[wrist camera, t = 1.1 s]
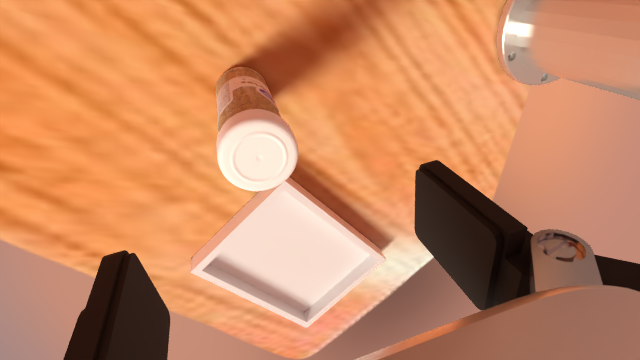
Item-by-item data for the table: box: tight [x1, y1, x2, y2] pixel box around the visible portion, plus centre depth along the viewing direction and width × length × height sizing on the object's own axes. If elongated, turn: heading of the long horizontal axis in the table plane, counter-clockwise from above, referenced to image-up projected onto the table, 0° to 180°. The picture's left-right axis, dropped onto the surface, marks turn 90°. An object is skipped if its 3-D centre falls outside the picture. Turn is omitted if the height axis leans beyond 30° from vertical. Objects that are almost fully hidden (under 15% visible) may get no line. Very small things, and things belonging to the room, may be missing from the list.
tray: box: [190, 177, 386, 328], centre depth 40 cm, size 18×14×2 cm
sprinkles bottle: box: [216, 67, 298, 191], centre depth 25 cm, size 5×5×14 cm
